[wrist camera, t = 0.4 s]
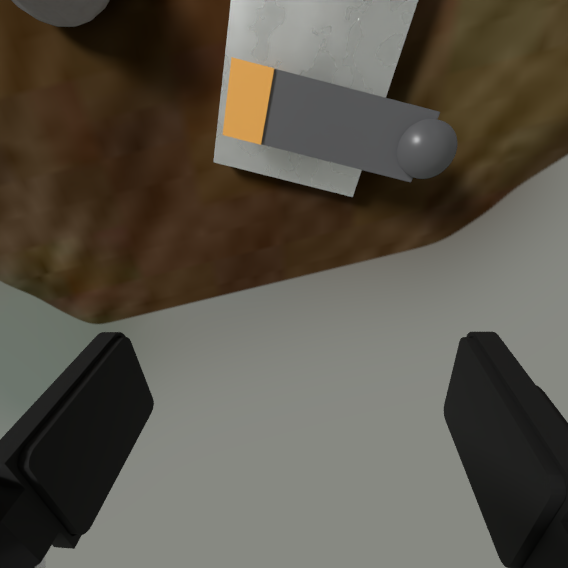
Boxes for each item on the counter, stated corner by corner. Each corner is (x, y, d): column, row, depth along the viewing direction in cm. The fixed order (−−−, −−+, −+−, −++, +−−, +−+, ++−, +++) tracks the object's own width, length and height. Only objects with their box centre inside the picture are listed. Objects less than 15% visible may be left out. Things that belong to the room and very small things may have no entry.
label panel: (264, -205, 22) (256, -250, 20) (460, -149, 23) (480, -184, 20) (221, 157, 34) (212, 162, 32) (350, 189, 35) (352, 198, 32)
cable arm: (449, 116, 26) (471, 119, 22) (422, 178, 29) (438, 191, 25) (243, 62, 26) (229, 56, 22) (234, 130, 28) (220, 135, 24)
